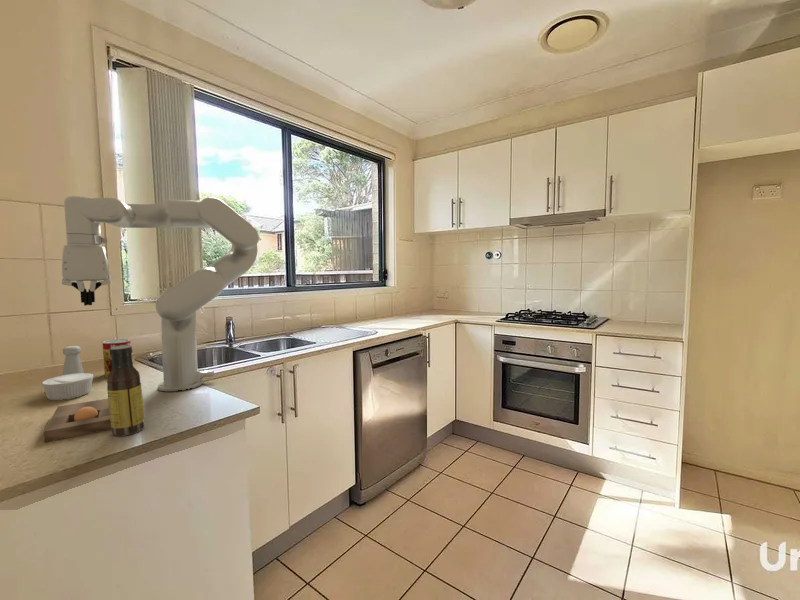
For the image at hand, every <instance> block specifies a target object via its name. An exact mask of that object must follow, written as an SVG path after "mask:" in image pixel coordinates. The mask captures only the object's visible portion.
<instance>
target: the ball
mask: <svg viewBox="0 0 800 600" xmlns="http://www.w3.org/2000/svg"><path fill="white" fill-rule="evenodd" d="M97 417H98V411H97V410H96V409H95V408H93V407H84V408H81V409H80V410H78V411H77V412H76V414H75V416H74V421H81V420H86V419H92V418H97Z"/></svg>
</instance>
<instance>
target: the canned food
mask: <svg viewBox="0 0 800 600" xmlns="http://www.w3.org/2000/svg"><path fill="white" fill-rule="evenodd" d="M117 346H132V345H131V339H130V338H117V339H109V340H104V341H102V353H103V355H102V356H103V370H104V371H103V372H104V377H108V375H109V374H110V372H111V370H112V359H111V355H110V348H113V347H117Z"/></svg>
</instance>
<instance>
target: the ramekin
mask: <svg viewBox="0 0 800 600" xmlns="http://www.w3.org/2000/svg"><path fill="white" fill-rule="evenodd" d="M93 379H94V374H93V373H88V372H87V373H85V372H84V373H77V374H69V375H63V376H62V375H58V376H54V377H51V378H48V379H45V380H44V381H42V382H41V386H42V387H43V388H44V393H45V397H47V399H49V400H50V401H64V400H63V399H67V400H70V399H69V398H72V399H76V398H75V397H77V398H80V397H83V396H86V395H87V393H88V394H89V393H90V392H91V390H92V384H93ZM85 394H86V395H85ZM82 395H83V396H82ZM79 396H80V397H79Z"/></svg>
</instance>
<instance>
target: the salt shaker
mask: <svg viewBox="0 0 800 600" xmlns="http://www.w3.org/2000/svg"><path fill="white" fill-rule="evenodd" d="M81 351H82V349H81V346H79V345H69V346H65V347H63V348H62V354H63V355H64V356H65V358H64V363H63V368H62V374H61V376H63V375H69V374H77V373H85V371H84V368H83V365H82V361H81V358H80V355H79V354H81Z"/></svg>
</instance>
